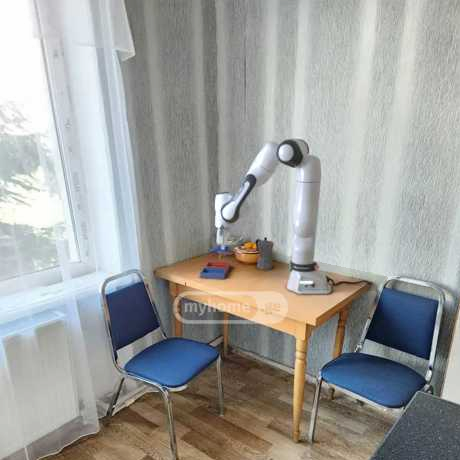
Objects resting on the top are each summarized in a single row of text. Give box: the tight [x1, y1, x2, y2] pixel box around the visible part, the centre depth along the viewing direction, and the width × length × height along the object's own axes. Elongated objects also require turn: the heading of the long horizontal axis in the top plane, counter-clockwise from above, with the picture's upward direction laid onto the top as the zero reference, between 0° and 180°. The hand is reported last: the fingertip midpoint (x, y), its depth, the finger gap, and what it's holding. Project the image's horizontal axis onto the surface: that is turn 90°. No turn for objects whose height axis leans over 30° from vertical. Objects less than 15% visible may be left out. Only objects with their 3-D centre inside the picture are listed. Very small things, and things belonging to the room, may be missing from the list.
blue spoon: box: [210, 245, 231, 253], centre depth 215 cm, size 11×4×3 cm, turn 80°
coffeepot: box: [254, 236, 274, 271], centre depth 230 cm, size 15×9×18 cm, turn 35°
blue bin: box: [199, 267, 228, 280], centre depth 219 cm, size 13×9×3 cm
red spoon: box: [210, 264, 228, 267], centre depth 229 cm, size 11×4×3 cm, turn 80°
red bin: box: [204, 261, 231, 273], centre depth 229 cm, size 13×9×3 cm
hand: (223, 248), depth 215 cm, fingers closed on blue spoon
